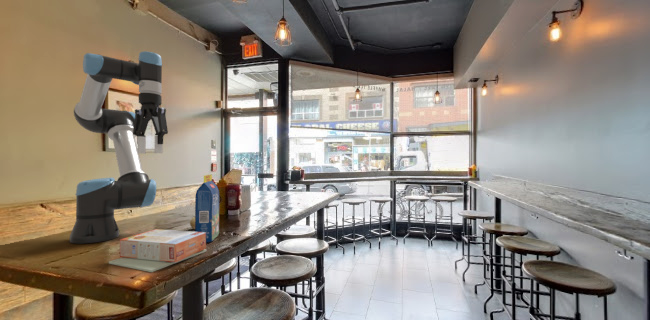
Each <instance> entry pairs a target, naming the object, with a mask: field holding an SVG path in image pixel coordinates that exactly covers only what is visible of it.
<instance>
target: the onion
mask: <svg viewBox="0 0 650 320" xmlns="http://www.w3.org/2000/svg"><path fill="white" fill-rule="evenodd" d="M189 226H190V227H191V229H193V230H194V231H195V216H193V217H192V218H191V219H190V221H189Z"/></svg>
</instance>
